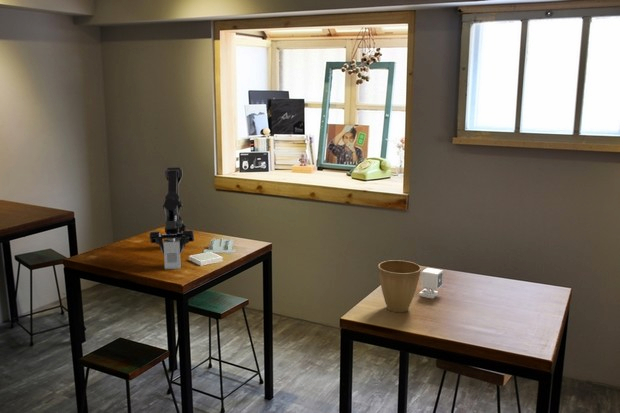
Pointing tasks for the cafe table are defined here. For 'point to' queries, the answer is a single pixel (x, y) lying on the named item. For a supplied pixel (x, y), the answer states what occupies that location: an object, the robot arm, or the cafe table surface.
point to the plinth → (205, 258)
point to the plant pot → (398, 283)
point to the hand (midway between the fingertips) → (172, 253)
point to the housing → (172, 253)
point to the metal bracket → (220, 246)
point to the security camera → (431, 282)
